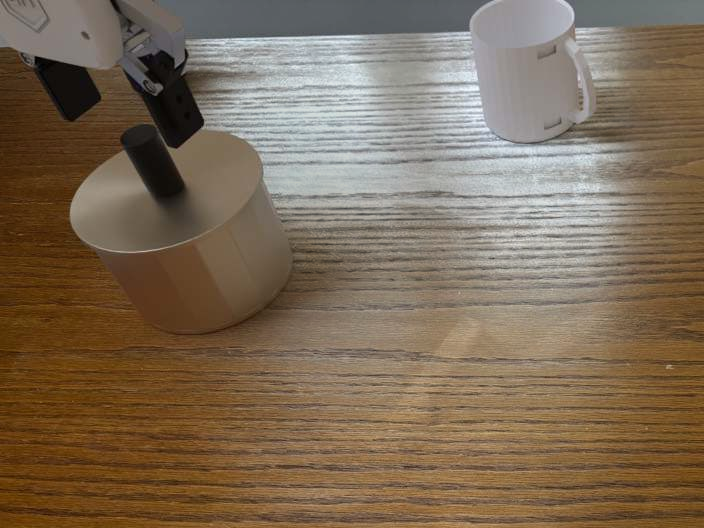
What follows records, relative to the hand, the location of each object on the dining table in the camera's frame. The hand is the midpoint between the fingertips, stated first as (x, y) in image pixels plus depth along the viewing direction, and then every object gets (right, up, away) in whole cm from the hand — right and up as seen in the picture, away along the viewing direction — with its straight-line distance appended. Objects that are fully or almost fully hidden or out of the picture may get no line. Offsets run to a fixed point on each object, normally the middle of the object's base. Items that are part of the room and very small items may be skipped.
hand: (134, 123), depth 58 cm
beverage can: (-12, +14, +31) cm, 36 cm away
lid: (0, -4, +5) cm, 6 cm away
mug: (+28, +7, +21) cm, 36 cm away
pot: (+1, -9, +11) cm, 15 cm away
